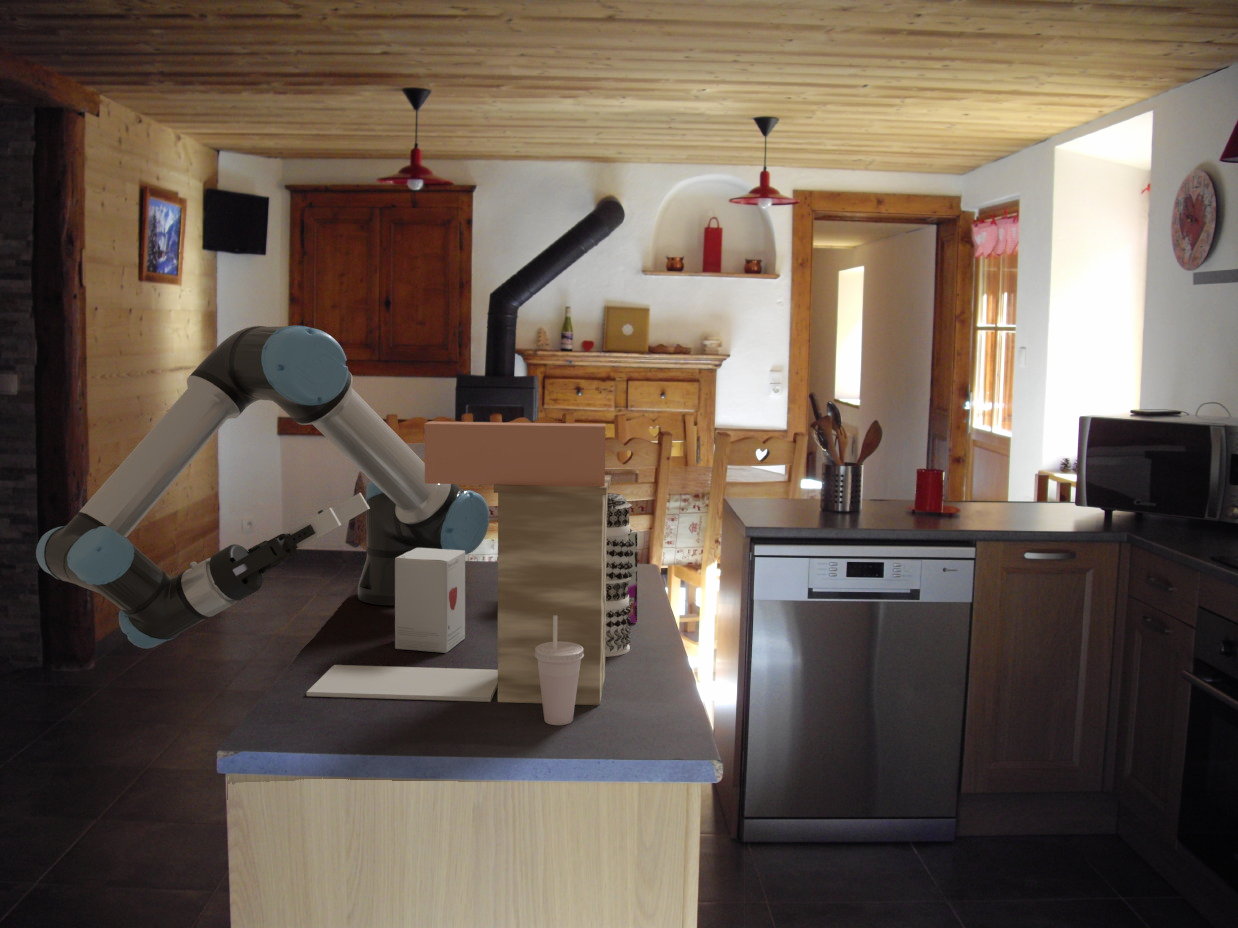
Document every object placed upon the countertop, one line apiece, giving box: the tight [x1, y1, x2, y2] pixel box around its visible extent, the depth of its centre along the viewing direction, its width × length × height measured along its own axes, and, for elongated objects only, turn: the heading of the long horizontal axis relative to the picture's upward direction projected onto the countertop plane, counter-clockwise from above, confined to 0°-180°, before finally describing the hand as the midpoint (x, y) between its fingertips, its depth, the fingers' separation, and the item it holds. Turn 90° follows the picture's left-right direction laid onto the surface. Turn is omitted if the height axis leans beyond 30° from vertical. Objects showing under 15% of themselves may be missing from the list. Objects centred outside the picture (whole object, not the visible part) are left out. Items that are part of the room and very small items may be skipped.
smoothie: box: [535, 615, 584, 726], centre depth 136 cm, size 6×6×14 cm
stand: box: [493, 474, 612, 706], centre depth 147 cm, size 13×15×30 cm
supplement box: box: [394, 548, 466, 654], centre depth 169 cm, size 9×9×15 cm
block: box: [423, 420, 606, 486], centre depth 141 cm, size 4×24×8 cm, turn 91°
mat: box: [306, 664, 498, 703], centre depth 150 cm, size 12×26×1 cm, turn 87°
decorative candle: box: [605, 492, 634, 658], centre depth 167 cm, size 9×9×25 cm
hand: (350, 508), depth 147 cm, fingers open, 13 cm apart
